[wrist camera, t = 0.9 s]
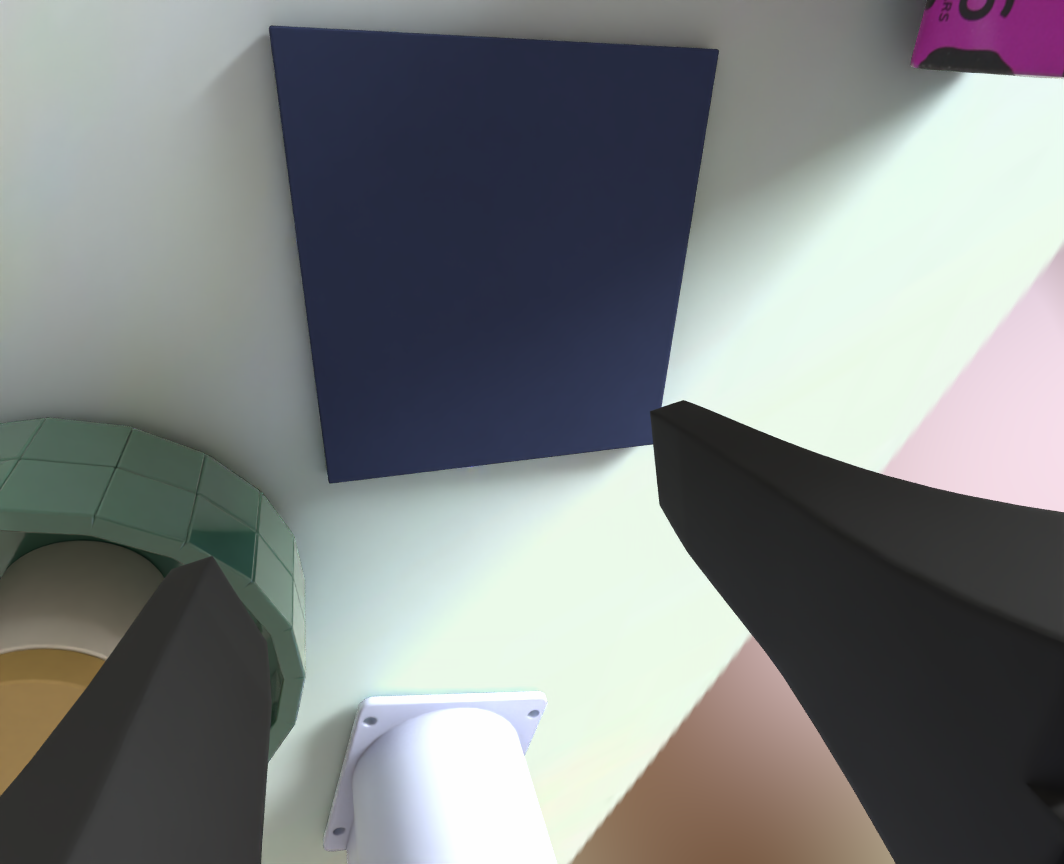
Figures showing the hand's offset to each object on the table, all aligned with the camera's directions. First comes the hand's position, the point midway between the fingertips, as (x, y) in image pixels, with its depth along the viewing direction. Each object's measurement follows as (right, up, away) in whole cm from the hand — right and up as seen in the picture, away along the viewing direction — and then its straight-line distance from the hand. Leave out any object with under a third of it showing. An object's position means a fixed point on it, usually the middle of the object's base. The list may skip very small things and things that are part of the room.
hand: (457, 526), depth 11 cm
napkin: (0, +6, +8) cm, 10 cm away
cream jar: (-12, -3, +9) cm, 16 cm away
